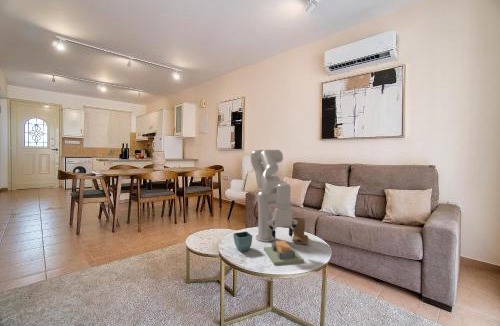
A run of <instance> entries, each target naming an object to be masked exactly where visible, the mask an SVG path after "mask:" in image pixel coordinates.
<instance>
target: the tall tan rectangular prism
mask: <svg viewBox="0 0 500 326" xmlns="http://www.w3.org/2000/svg"><path fill="white" fill-rule="evenodd" d="M275 243H276V251H280V252H290V246H291V245H290V246H289V244H288V243H287V242H286V241H285V240H276V241H275Z"/></svg>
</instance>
